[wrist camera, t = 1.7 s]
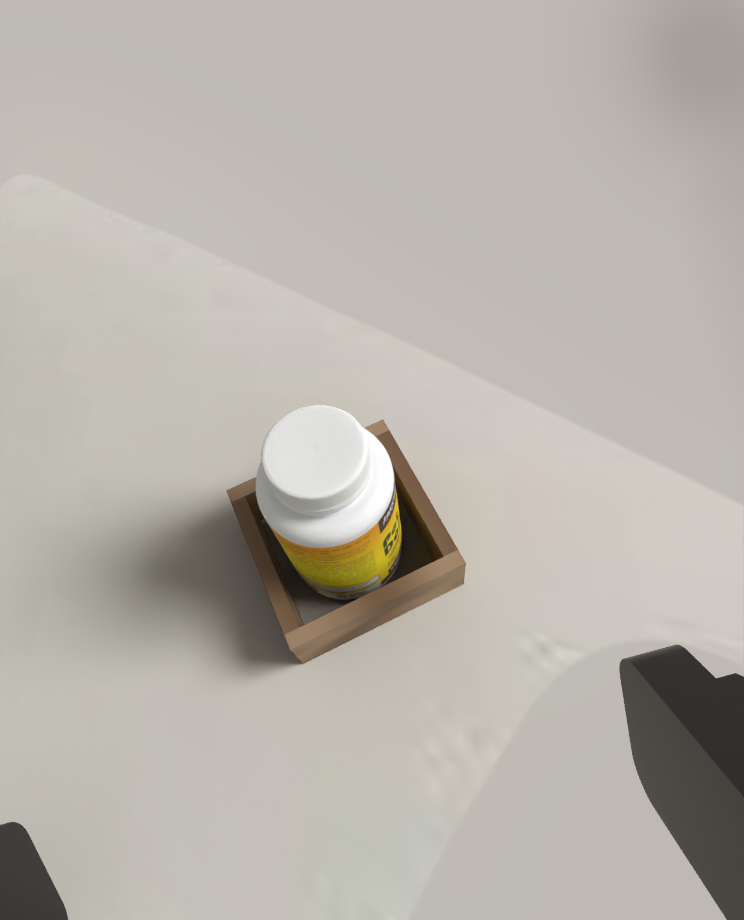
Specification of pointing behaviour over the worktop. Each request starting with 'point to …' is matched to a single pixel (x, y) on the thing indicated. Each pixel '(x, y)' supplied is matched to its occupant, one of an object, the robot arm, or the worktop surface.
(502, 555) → the worktop surface
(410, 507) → the wooden box
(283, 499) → the supplement bottle
